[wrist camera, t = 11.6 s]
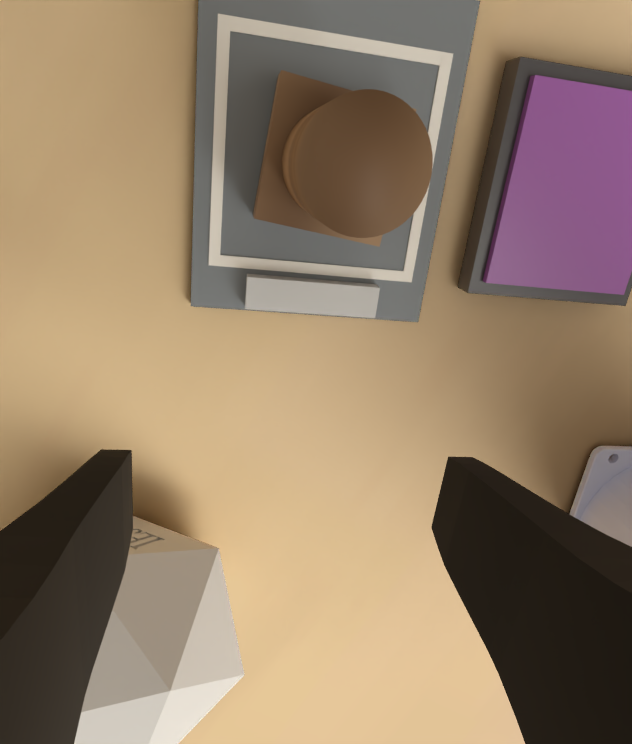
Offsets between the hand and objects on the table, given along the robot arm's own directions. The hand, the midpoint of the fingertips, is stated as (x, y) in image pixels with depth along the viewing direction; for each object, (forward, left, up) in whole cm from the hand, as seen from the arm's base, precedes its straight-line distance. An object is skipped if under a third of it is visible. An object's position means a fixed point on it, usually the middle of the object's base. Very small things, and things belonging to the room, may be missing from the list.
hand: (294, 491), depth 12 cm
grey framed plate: (-2, -7, -10) cm, 12 cm away
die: (+5, +11, -10) cm, 16 cm away
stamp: (-2, -7, -10) cm, 12 cm away
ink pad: (-11, -7, -10) cm, 16 cm away
